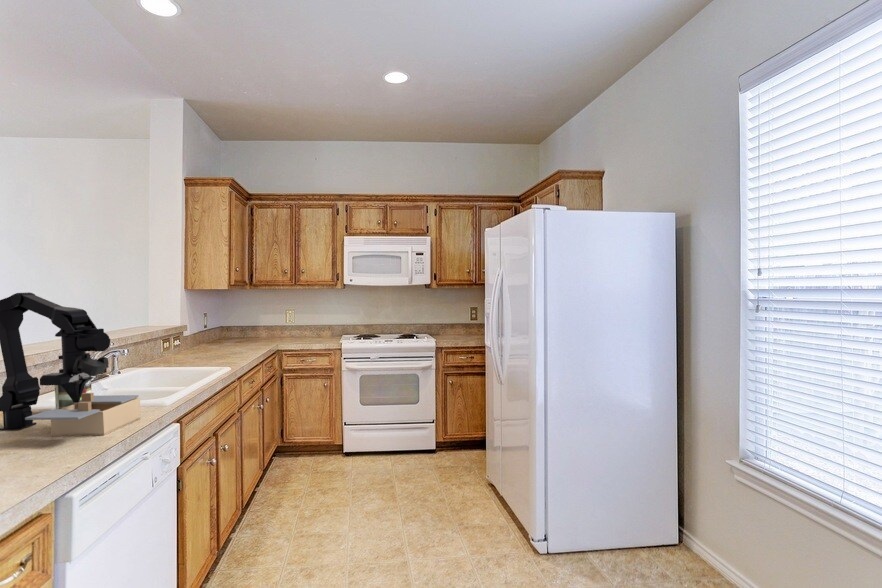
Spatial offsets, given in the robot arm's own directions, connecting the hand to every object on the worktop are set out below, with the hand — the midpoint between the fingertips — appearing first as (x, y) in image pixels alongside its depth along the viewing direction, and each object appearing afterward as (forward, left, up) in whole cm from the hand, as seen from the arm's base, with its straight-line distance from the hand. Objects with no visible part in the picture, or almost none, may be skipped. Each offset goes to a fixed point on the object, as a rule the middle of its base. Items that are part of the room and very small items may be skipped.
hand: (76, 402), depth 146 cm
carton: (+4, +3, -9) cm, 10 cm away
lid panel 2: (+4, +7, -1) cm, 8 cm away
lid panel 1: (+4, -9, -1) cm, 10 cm away
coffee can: (-17, +19, -9) cm, 27 cm away
